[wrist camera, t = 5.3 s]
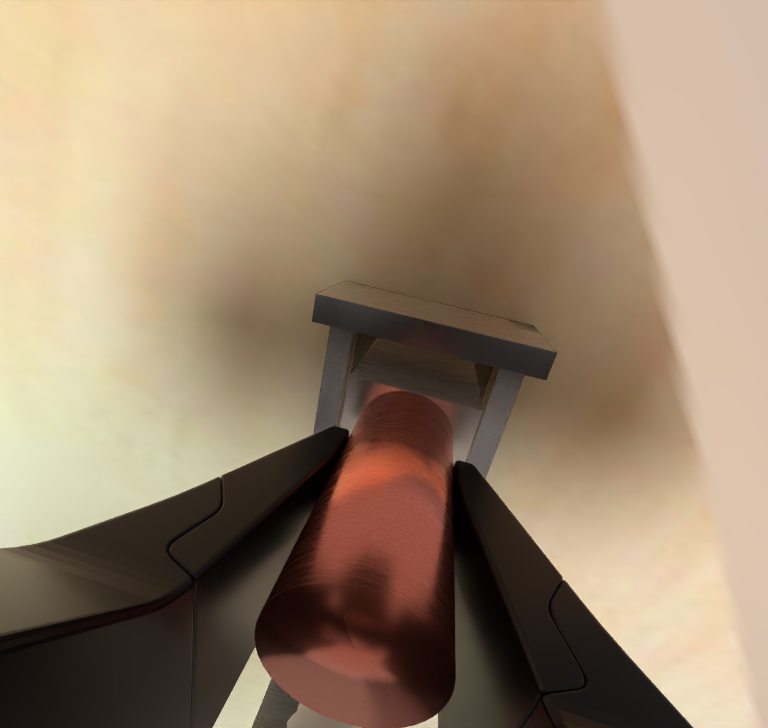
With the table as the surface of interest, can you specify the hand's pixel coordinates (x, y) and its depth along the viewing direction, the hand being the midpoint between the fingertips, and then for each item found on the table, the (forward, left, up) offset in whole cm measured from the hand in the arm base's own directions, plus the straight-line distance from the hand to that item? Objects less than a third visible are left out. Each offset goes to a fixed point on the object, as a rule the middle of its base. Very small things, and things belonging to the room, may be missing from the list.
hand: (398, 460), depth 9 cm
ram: (-1, 0, -5) cm, 5 cm away
